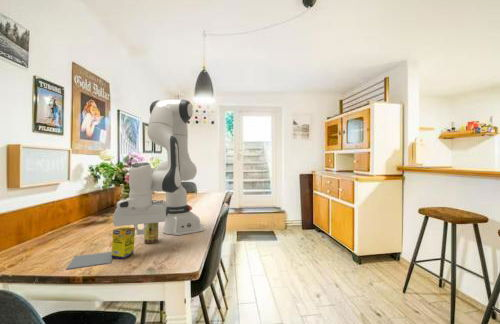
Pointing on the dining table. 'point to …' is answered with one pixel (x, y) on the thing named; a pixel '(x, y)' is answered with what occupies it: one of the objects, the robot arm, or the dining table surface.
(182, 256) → the dining table surface
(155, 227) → the sauce bottle
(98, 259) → the slate pad
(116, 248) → the supplement box
